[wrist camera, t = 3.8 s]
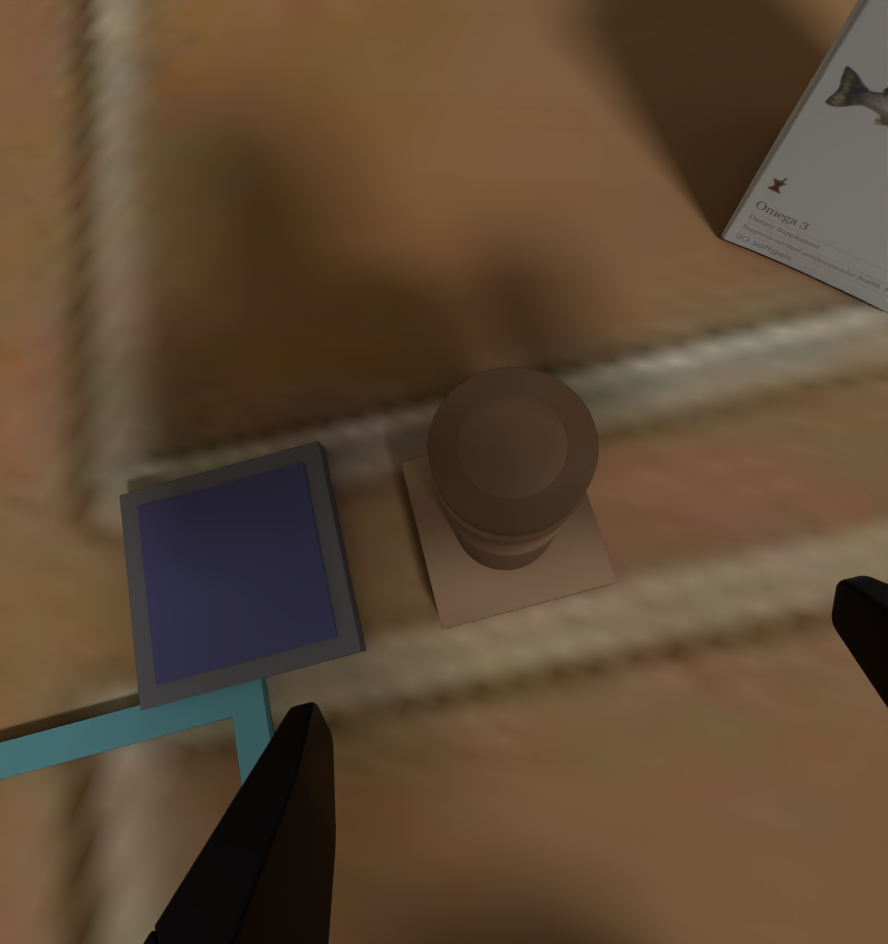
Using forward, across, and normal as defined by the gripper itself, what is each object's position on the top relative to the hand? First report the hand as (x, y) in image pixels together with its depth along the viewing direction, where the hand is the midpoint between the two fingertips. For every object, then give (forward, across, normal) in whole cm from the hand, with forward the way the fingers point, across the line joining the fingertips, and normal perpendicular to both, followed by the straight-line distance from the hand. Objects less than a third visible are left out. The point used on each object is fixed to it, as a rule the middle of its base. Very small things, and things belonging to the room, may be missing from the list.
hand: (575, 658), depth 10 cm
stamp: (+11, 0, +5) cm, 12 cm away
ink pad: (+11, +10, +4) cm, 16 cm away
